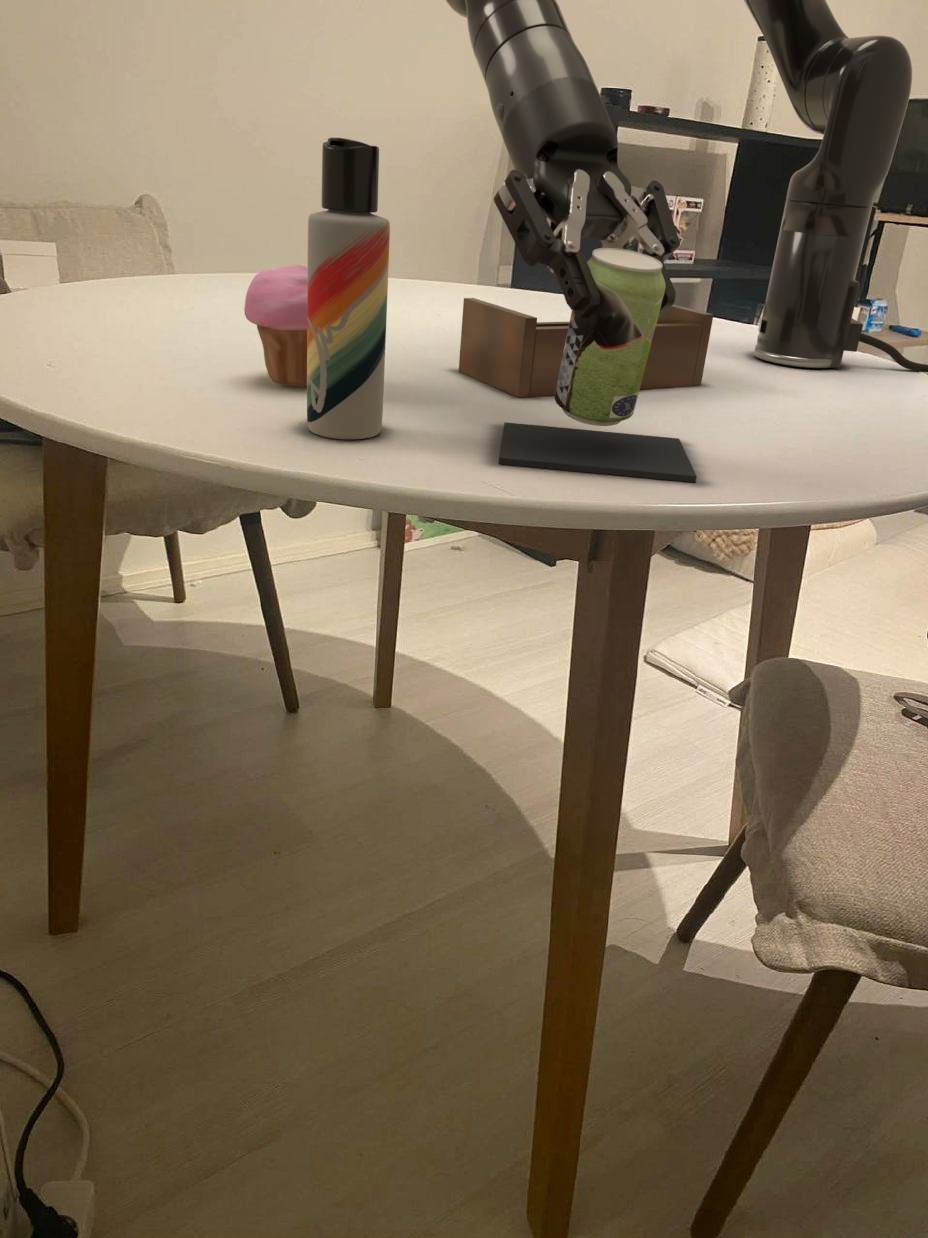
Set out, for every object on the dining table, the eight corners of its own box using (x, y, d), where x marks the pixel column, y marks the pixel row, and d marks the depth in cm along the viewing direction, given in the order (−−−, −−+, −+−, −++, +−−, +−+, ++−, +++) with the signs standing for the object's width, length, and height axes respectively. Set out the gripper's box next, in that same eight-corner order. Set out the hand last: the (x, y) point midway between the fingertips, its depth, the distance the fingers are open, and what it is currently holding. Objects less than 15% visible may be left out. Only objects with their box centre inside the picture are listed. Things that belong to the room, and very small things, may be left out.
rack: (458, 371, 97) (463, 297, 94) (633, 362, 108) (642, 296, 105) (518, 397, 89) (526, 317, 86) (701, 385, 100) (713, 314, 97)
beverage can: (596, 405, 77) (620, 244, 72) (661, 431, 72) (691, 258, 67) (533, 411, 74) (553, 242, 69) (596, 438, 69) (622, 257, 63)
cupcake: (349, 395, 84) (352, 274, 80) (246, 393, 83) (243, 268, 78) (339, 372, 92) (342, 260, 88) (245, 369, 90) (243, 255, 86)
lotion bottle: (291, 429, 74) (290, 133, 65) (338, 416, 78) (343, 137, 69) (351, 445, 71) (359, 139, 62) (396, 430, 76) (409, 143, 67)
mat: (678, 444, 78) (679, 438, 78) (695, 482, 69) (696, 475, 69) (503, 428, 79) (504, 421, 78) (498, 464, 70) (499, 457, 69)
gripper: (489, 61, 65) (572, 275, 61) (654, 83, 72) (737, 277, 68) (444, 145, 71) (517, 344, 68) (599, 158, 78) (673, 339, 75)
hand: (627, 309), depth 68 cm, fingers closed on beverage can, 6 cm apart
